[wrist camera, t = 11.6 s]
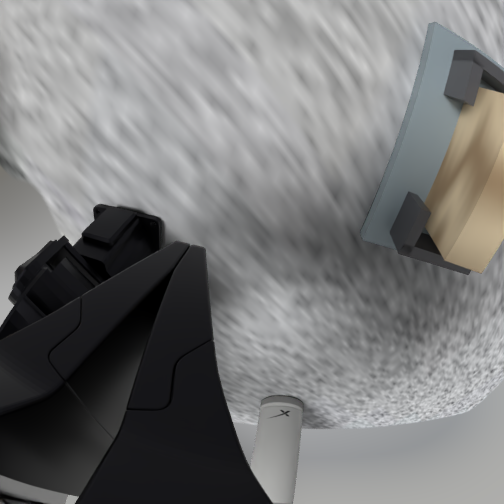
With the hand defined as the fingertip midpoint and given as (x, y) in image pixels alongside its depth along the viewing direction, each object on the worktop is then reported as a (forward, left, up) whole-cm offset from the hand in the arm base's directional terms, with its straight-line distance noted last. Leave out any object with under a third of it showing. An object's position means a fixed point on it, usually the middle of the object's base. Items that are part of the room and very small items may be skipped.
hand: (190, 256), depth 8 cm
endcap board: (+4, -14, -12) cm, 18 cm away
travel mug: (-34, -11, -12) cm, 38 cm away
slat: (+4, -14, -11) cm, 18 cm away
